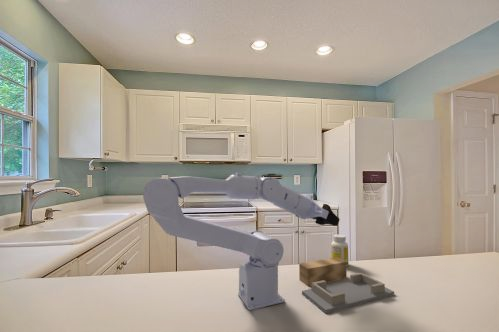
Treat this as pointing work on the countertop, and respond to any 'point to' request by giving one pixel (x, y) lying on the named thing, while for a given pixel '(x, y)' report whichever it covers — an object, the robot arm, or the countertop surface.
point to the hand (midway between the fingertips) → (327, 219)
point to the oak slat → (322, 271)
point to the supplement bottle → (340, 248)
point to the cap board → (346, 293)
